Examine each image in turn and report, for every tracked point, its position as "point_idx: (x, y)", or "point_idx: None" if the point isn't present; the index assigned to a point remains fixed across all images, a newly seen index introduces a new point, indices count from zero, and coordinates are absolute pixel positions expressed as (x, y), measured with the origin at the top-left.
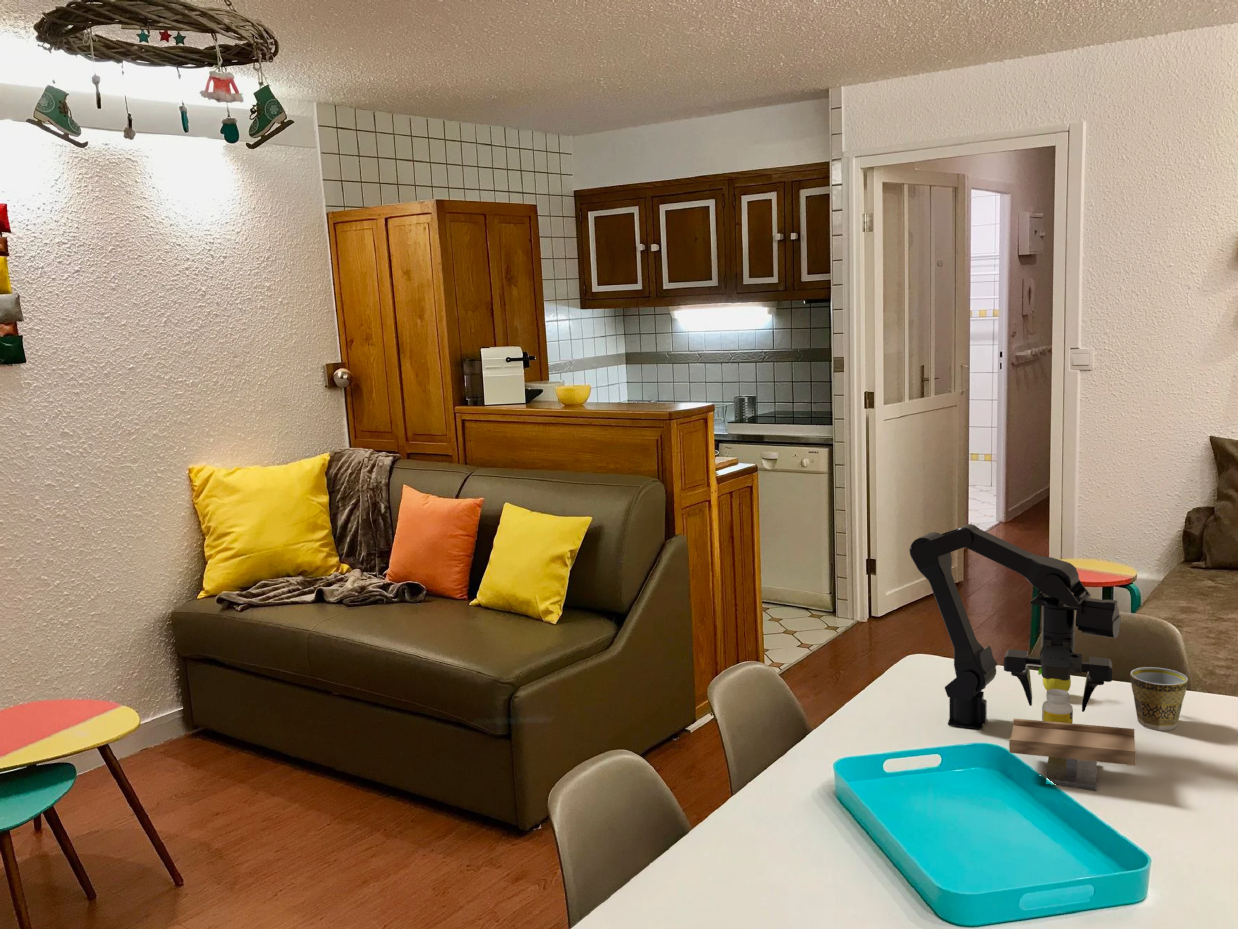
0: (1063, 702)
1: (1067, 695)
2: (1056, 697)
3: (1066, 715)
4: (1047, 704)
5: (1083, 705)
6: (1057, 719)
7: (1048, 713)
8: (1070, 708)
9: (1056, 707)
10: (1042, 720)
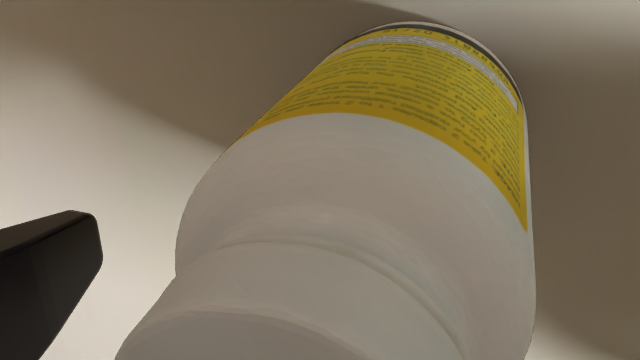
0: (219, 249)
1: (116, 358)
2: (293, 298)
3: (250, 134)
4: (470, 278)
5: (13, 237)
6: (364, 88)
7: (467, 153)
8: (181, 223)
9: (342, 189)
10: (530, 188)
